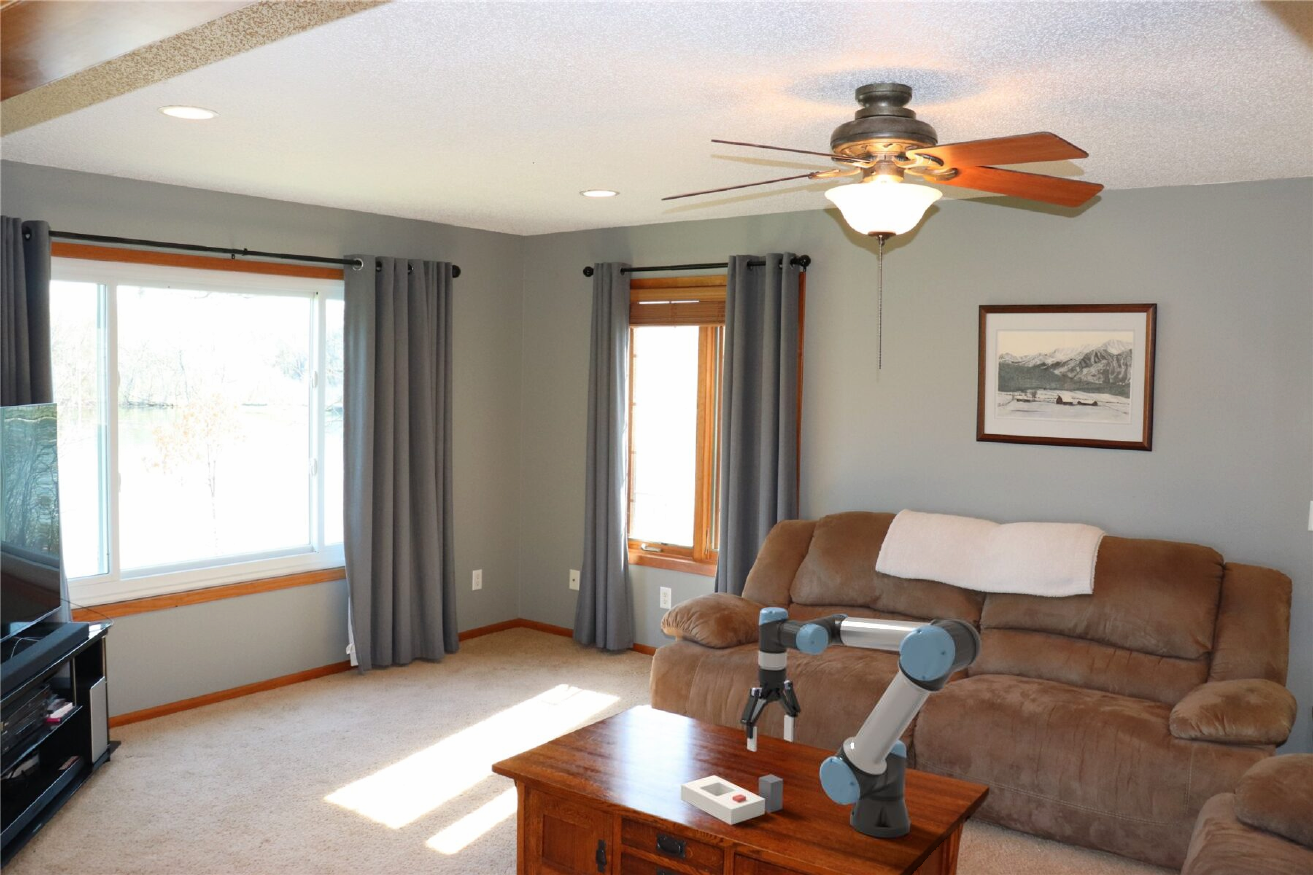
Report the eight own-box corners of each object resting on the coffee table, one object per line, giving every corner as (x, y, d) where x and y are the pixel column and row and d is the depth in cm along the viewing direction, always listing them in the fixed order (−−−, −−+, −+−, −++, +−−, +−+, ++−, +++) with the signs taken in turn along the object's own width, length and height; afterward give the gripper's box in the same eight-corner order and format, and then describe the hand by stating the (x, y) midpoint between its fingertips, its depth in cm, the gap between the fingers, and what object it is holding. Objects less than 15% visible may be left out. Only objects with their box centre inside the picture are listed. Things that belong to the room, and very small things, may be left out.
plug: (781, 808, 278) (783, 779, 278) (769, 812, 275) (770, 782, 275) (770, 803, 282) (771, 774, 281) (758, 806, 279) (759, 777, 278)
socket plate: (764, 813, 274) (765, 795, 274) (730, 824, 267) (731, 806, 267) (714, 789, 290) (714, 772, 290) (680, 798, 282) (681, 781, 282)
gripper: (795, 656, 288) (793, 732, 289) (727, 670, 273) (726, 750, 274) (815, 662, 282) (813, 739, 283) (747, 676, 267) (745, 758, 268)
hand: (770, 745), depth 278 cm, fingers open, 13 cm apart
